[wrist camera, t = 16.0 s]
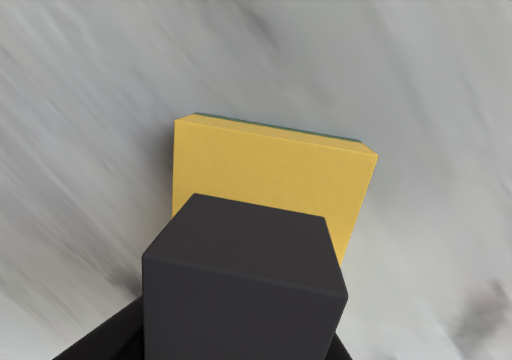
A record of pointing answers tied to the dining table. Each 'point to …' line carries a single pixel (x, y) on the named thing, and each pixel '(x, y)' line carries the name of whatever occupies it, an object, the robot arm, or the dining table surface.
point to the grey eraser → (240, 284)
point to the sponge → (273, 169)
